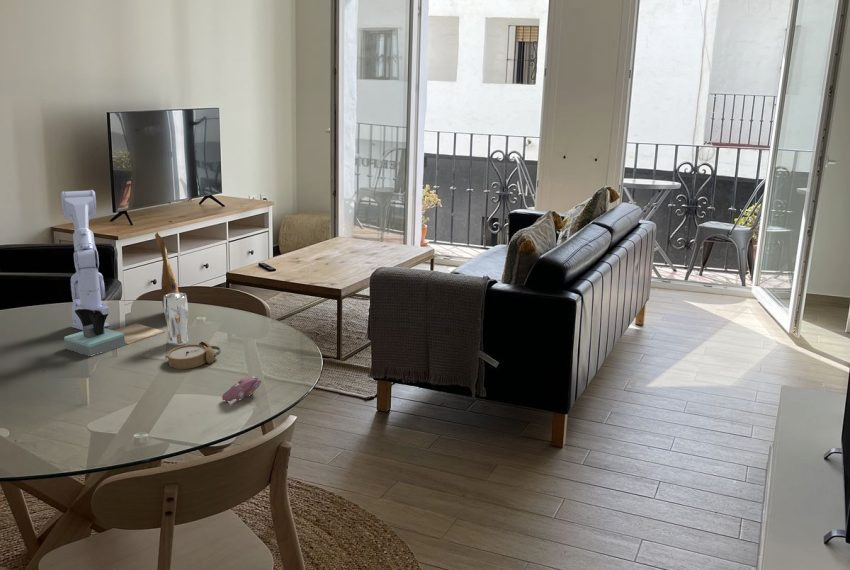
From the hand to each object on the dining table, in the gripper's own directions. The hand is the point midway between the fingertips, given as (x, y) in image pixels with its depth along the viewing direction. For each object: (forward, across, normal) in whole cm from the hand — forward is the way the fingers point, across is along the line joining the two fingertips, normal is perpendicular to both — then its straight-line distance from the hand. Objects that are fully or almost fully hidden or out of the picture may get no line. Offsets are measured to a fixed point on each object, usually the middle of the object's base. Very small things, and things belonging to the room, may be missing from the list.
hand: (94, 333), depth 247 cm
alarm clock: (+5, +33, +9) cm, 35 cm away
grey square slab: (+4, 0, 0) cm, 4 cm away
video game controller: (+5, +63, -2) cm, 64 cm away
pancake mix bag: (+5, -5, +33) cm, 34 cm away
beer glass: (+5, +17, +17) cm, 24 cm away
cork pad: (+4, -1, +14) cm, 15 cm away
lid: (+2, 0, 0) cm, 2 cm away
